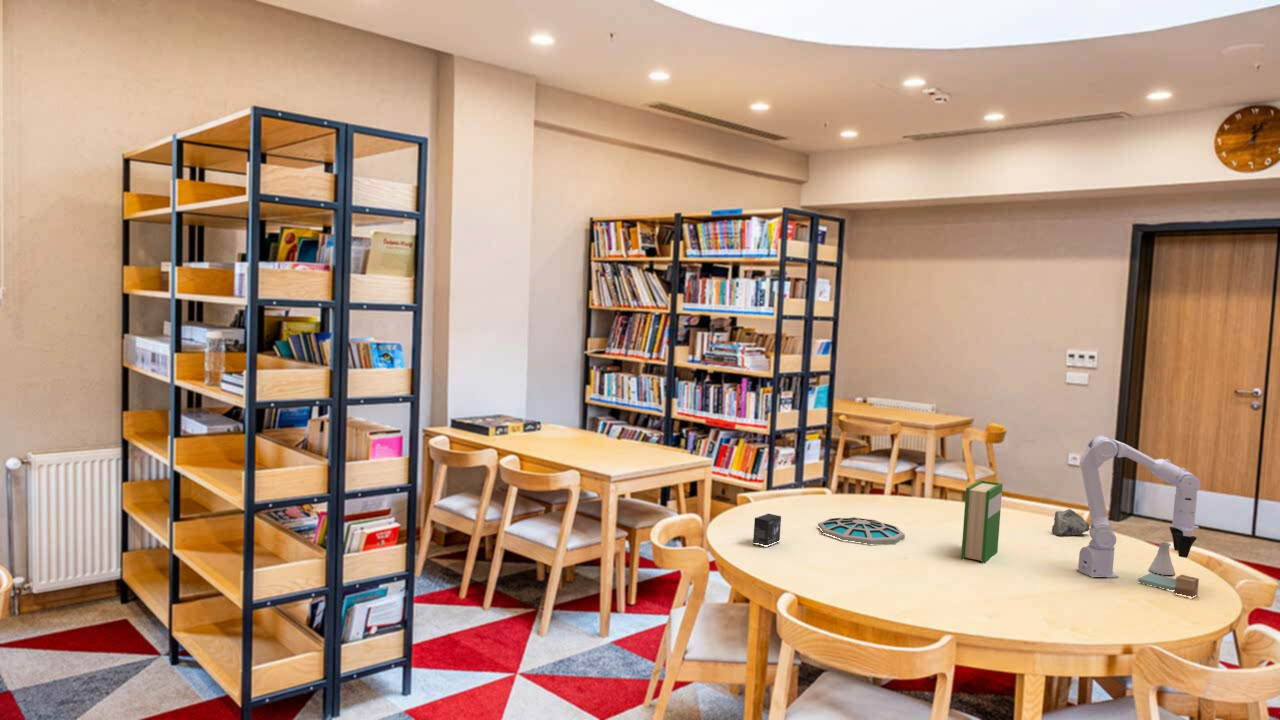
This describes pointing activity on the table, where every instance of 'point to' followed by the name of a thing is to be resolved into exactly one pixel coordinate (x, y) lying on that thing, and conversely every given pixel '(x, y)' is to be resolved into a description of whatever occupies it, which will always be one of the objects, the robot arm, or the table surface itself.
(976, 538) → the hardback book
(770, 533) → the box
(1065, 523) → the mineral rock
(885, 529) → the grey teal dome window
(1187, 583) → the walnut block
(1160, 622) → the table surface
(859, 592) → the table surface
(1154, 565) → the flask
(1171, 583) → the base board
